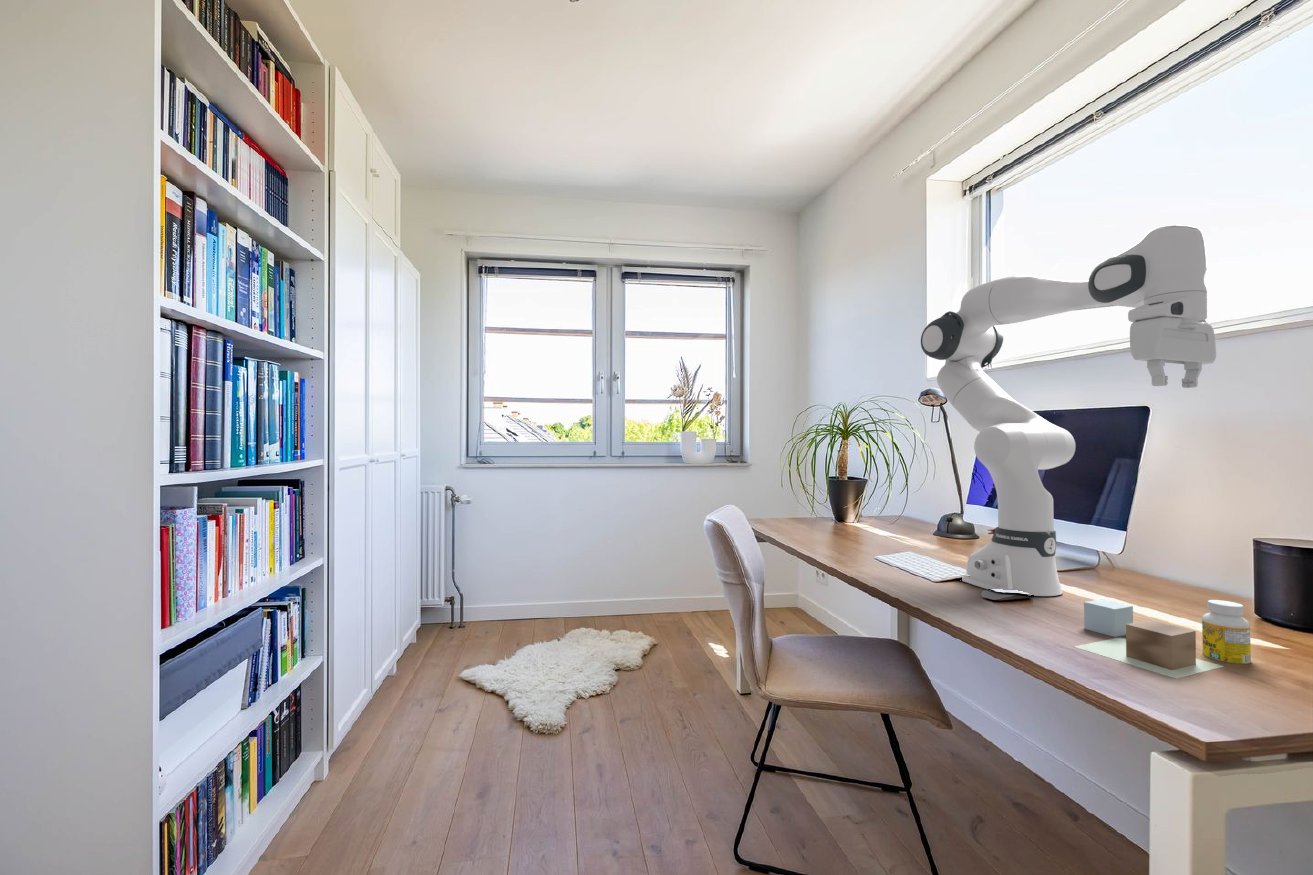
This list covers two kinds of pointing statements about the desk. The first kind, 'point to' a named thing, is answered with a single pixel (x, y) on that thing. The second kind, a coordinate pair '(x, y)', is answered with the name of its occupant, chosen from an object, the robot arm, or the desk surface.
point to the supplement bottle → (1226, 633)
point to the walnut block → (1161, 644)
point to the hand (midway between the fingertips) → (1174, 386)
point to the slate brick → (1107, 617)
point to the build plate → (1118, 652)
